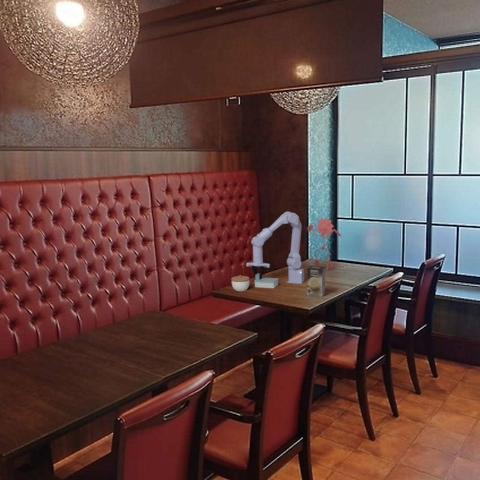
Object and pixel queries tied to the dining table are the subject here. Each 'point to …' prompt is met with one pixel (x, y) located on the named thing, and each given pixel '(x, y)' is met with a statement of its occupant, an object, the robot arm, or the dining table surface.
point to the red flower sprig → (323, 228)
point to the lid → (265, 279)
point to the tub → (266, 284)
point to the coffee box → (316, 281)
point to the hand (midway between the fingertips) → (258, 278)
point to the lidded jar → (240, 283)
